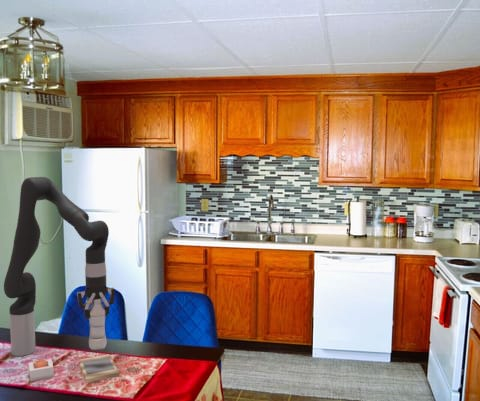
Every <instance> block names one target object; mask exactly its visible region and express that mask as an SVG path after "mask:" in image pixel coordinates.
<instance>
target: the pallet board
mask: <svg viewBox="0 0 480 401" xmlns="http://www.w3.org/2000/svg"><path fill="white" fill-rule="evenodd" d="M78 365H79V368H80V371H81V374H82V376H83V378H84V381H85V383H86V384H87V383H89V384H90V383H92V382H93V383H94V382H97V381H102V380H106V379H107V380H108V379H112V377H113V378H117V376H118V377H120V371H119V369H118V368H117V366H116V364H115V362H114V360H113V358H112V357H111V354H104V355H98V356H93V357H86V358H82V359H78Z"/></svg>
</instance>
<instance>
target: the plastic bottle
mask: <svg viewBox="0 0 480 401" xmlns="http://www.w3.org/2000/svg"><path fill="white" fill-rule="evenodd" d="M102 303H103V300H102V299H101V298H100V299H94V300H93V301H92V302H91V304H90V306H89V307H88V309H89V319H88V321H89V339H88V346H89V348H90V349H91V350H92V351H100V350H104V349H105V348H106V347H107V342H108V341H107V336H106V331H105V329H106V328H105V325H106V324H105V323H106V316H105V315H106V310H105V305H103V304H102Z"/></svg>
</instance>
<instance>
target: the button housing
mask: <svg viewBox="0 0 480 401" xmlns="http://www.w3.org/2000/svg"><path fill="white" fill-rule="evenodd" d="M45 360H46V361H47V366H46V367H41V368H35V362H36V361H37V360H35V361H30V362H28V375H29V382H30V383H31V382H36V381H37V382H38V381H41V380H47V379H51V378H54V376H55V375H54V373H55V372H54V371H55V370H54V365H53V360H52V358H46V359H45Z"/></svg>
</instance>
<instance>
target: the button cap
mask: <svg viewBox="0 0 480 401" xmlns="http://www.w3.org/2000/svg"><path fill="white" fill-rule="evenodd" d="M35 361H36V362H35ZM35 361H34V362H35V368H41V367H46V366H47V361H46V359H39V360H35Z"/></svg>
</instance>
